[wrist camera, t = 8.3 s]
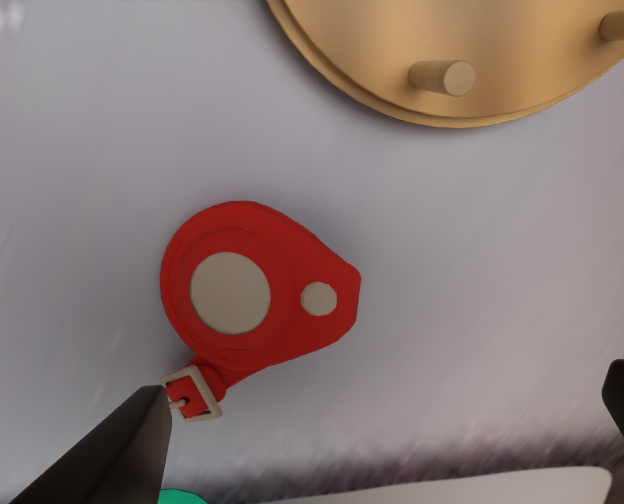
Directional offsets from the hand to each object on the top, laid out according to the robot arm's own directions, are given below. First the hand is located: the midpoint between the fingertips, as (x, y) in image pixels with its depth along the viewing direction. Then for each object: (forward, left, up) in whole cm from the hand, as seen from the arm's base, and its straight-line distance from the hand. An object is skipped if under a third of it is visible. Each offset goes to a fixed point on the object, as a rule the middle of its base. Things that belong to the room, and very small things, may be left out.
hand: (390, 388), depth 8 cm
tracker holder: (+2, -7, -13) cm, 15 cm away
